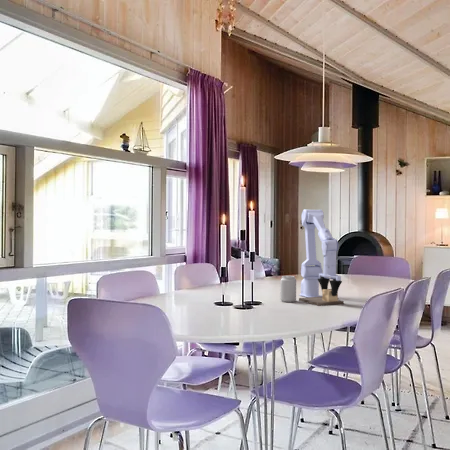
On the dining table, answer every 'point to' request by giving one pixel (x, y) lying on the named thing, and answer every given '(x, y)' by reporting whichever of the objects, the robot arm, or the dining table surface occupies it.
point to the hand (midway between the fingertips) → (329, 294)
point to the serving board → (319, 301)
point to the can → (288, 289)
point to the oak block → (328, 295)
